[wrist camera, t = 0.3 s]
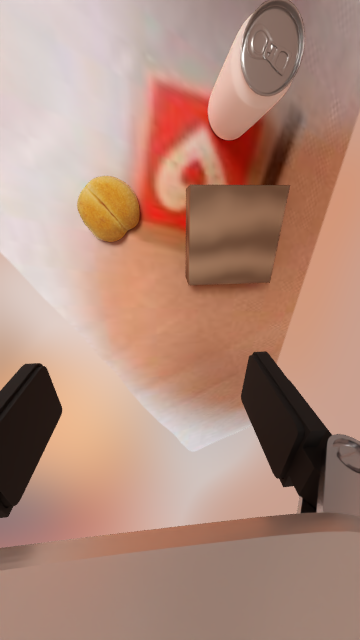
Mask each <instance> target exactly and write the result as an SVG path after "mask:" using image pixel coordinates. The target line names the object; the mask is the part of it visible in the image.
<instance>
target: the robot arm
mask: <svg viewBox="0 0 360 640" xmlns="http://www.w3.org/2000/svg"><path fill="white" fill-rule="evenodd" d="M241 399H242V403H243V405H244V407H245V410H246V412H247V414H248V416H249V419H250V421H251V423H252V426H253V428H254V430H255V432H256V435H257V437H258V439H259V442H260V444H261V446H262V449H263V451H264V453H265V455H266V458H267V460H268V462H269V465H270V467H271V469H272V472H273V474H274V475H275V477H276V478H279V479H280V481H281V483H282V485H283V487H289V486H294V487H295V489H296V491H297V493H298V495H299V503H298V510H297V514H290V515H279V516H267V517H256V518H247V519H239V520H230V521H221V522H212V523H204V524H195V525H186V526H178V527H169V528H161V529H153V530H144V531H136V532H127V533H119V534H110V535H102V536H94V537H86V538H78V539H69V540H61V541H54V542H46V543H38V544H30V545H21V546H14V547H6V548H0V640H360V441H358V440H356V439H354V438H352V437H349V436H346V435H341V434H336V435H332V434H331V433H330V432H329V430H328V429H327V428H326V427H325V425H324V424H323V423H322V422H321V420H320V419H319V418H318V416H317V415H316V414H315V412H314V411H313V410H312V408H310V406H309V405H308V403H307V402H306V401H305V399H304V398H303V397H302V396H301V394H300V393H299V392H298V390H297V389H296V388H295V386H294V385H293V384H292V383H291V382H290V381H289V380H288V379H287V377H286V376H285V375H284V373H283V372H282V371H281V369H280V368H279V367H278V366H277V364H276V363H275V362H274V360H273V359H272V358H271V356H270V355H269V354H268V353H267V352H254V353H253V354H252V355H250V356H249V360H248V364H247V369H246V374H245V379H244V384H243V389H242V394H241ZM61 414H62V406H61V404H60V401H59V399H58V396H57V394H56V391H55V388H54V386H53V383H52V381H51V378H50V376H49V373H48V371H47V368H46V367H45V366H43V365H42V364H40V363H37V364H36V363H35V364H25V365H23V366H22V367H21V368H20V369H19V370H18V372H17V373H16V374H15V375H14V376H13V377H12V378H11V380H10V381H9V382H8V383H7V384H6V385H5V386H4V387H3V389H2V390H1V391H0V518H3V517H8V516H9V514H10V512H11V510H12V508H13V506H15V505H17V504H18V502H19V501H20V499H21V497H22V495H23V493H24V491H25V488H26V487H27V485H28V483H29V481H30V478H31V477H32V474H33V472H34V470H35V468H36V466H37V464H38V462H39V460H40V458H41V456H42V454H43V452H44V450H45V447H46V445H47V443H48V441H49V439H50V437H51V435H52V433H53V431H54V429H55V427H56V425H57V423H58V420H59V418H60V416H61Z"/></svg>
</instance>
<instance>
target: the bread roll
mask: <svg viewBox="0 0 360 640" xmlns="http://www.w3.org/2000/svg"><path fill="white" fill-rule="evenodd" d="M77 207H78V211H79V213H80V216H81V218H82V220H83V222H84V223H85V225H86V226H87V227H88V228H89V230H90V231H91V232H92V233H93V234H94V235H95V236H96V237H97V239H99V240H104V241H107V242H114V241H117V240H119V239H121V238H122V237H123V236H124V235H125V234H126V232H127V231H128V230H129V229H132V228H134V227H135V226H136V225H137V223H138V221H139V216H140V210H139V204H138V200H137V197H136V195H135V193H134V191H133V190H132V189H131V188H130V187H129V185H127V184H126V183H125V182H123V181H122V180H120V179H118V178H115V177H111V176H101V177H96V178H94V179H92V180H91V181H90V182H89V183H88V184H87V185H86V186H85V188H84V189H83V190H82V192H81V193H80V196H79V198H78V203H77Z"/></svg>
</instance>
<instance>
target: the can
mask: <svg viewBox="0 0 360 640" xmlns="http://www.w3.org/2000/svg"><path fill="white" fill-rule="evenodd" d="M304 45H305V31H304V24H303V20H302V17H301V15H300V13H299V11H298V9H297V8H296V6H295V5H294V4H293V3H292V2H290V1H289V0H267V1H266V2H264V3H263V4H261V5H260V6H259V7H258V8H257V9H256V11H255V12H254V13H253V14H252V15H250V16H249V17H248V19H247V20H246V21H245V22H244V24H243V25H242V27H241V28H240V30H239V32H238V34H237V36H236V38H235V40H234V42H233V44H232V47H231V49H230V51H229V53H228V56H227V58H226V60H225V62H224V65H223V67H222V69H221V72H220V74H219V76H218V78H217V81H216V83H215V85H214V88H213V90H212V93H211V96H210V99H209V104H208V118H209V123H210V126H211V128H212V130H213V131H214V133H215V134H216V135H217V136H218V137H220V138H221V139H224V140H234V139H237V138H239V137H240V136H241V135H243V134H244V133H245V132H246V131H247V130H248V129H249V128H251V127H252V126H253V125H254V124H255V123H256V122H257V121H258V120H259V119H260V118H261V117H262V116H263V115H265V114H266V113H267V112H268V111H269V110H270V109H271V108H272V107H273V106H274V105H275V104H276V103H277V102H278V101H279V100H280V99H281V98H282V97H283V95H284V94H285V93H286V91H287V90H288V88H289V86H290V84H291V82H292V80H293V78H294V77H295V75H296V73H297V71H298V69H299V66H300V64H301V61H302V57H303V52H304Z"/></svg>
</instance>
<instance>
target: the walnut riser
mask: <svg viewBox="0 0 360 640" xmlns="http://www.w3.org/2000/svg"><path fill="white" fill-rule="evenodd" d="M289 188H290V185H190V186H189V187H187V188H186V279H187V282H188V284H189V285H211V284H241V283H270V280H271V275H272V270H273V265H274V260H275V256H276V251H277V246H278V241H279V236H280V231H281V227H282V222H283V217H284V212H285V207H286V203H287V198H288V193H289Z"/></svg>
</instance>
